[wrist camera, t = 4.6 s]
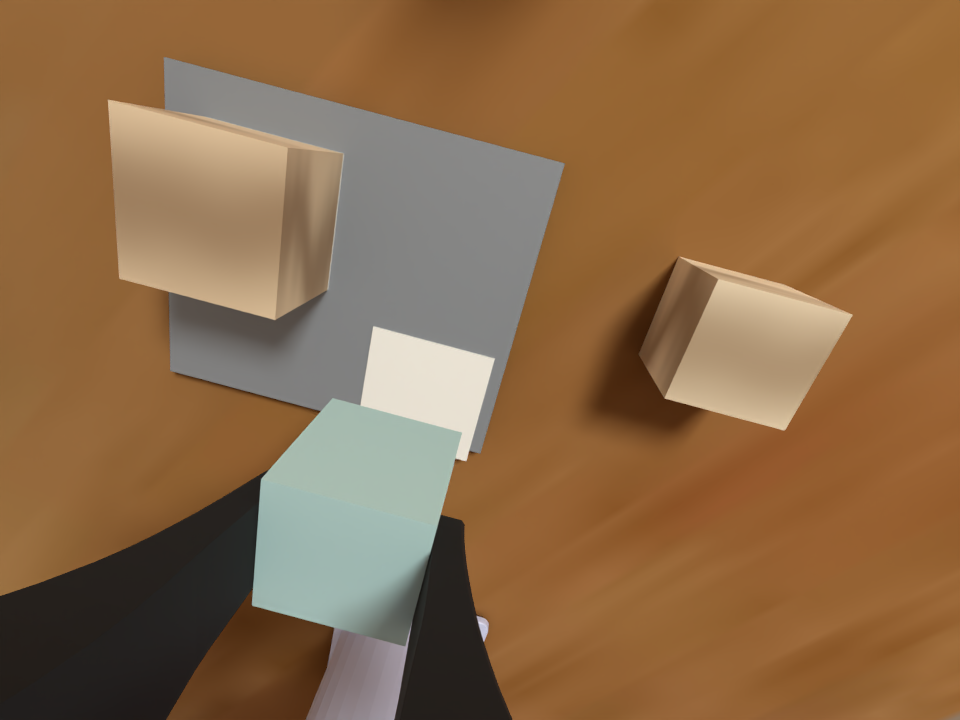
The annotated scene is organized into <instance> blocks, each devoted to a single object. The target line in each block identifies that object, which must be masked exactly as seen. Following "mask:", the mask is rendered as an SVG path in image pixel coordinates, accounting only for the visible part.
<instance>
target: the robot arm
mask: <svg viewBox="0 0 960 720" xmlns="http://www.w3.org/2000/svg"><path fill="white" fill-rule="evenodd" d="M269 470H270V469H269ZM269 470H267V471H266V472H264V473H262V474H260V475H259V476H257V477H255V478H254V479H252V480H251V481H249V482H247V483H246V484H244V485H242V486H241V487H239V488H237V489H236V490H234V491H232V492H231V493H229V494H227V495H226V496H224V497H222V498H221V499H219V500H217V501H216V502H214V503H212V504H210V505H209V506H207V507H205V508H203V509H202V510H200V511H198V512H197V513H195V514H193V515H191V516H189V517H188V518H186V519H184V520H182V521H180V522H178V523H176V524H174V525H172V526H171V527H169V528H167V529H165V530H163V531H161V532H159V533H157V534H155V535H153V536H151V537H149V538H147V539H145V540H143V541H141V542H139V543H137V544H135V545H133V546H130V547H128V548H126V549H124V550H122V551H119V552H117V553H115V554H112V555H110V556H108V557H106V558H103V559H101V560H98V561H96V562H94V563H91V564H88V565H86V566H83V567H80V568H78V569H75V570H73V571H70V572H67V573H65V574H62V575H60V576H57V577H54V578H52V579H49V580H46V581H44V582H41V583H38V584H35V585H32V586H29V587H26V588H23V589H20V590H17V591H14V592H11V593H8V594H5V595H2V596H0V720H166V719H167V717H168V715H169V713H170V712H171V710H172V708H173V707H174V705H175V703H176V702H177V700H178V698H179V697H180V695H181V693H182V691H183V690H184V688H185V686H186V685H187V683H188V681H189V680H190V678H191V676H192V675H193V673H194V671H195V670H196V668H197V667H198V665H199V663H200V662H201V660H202V659H203V657H204V656H205V654H206V653H207V651H208V650H209V648H210V647H211V646H212V644H213V643H214V641H215V640H216V639H217V637H218V636H219V634H220V633H221V632H222V630H223V629H224V628H225V626H226V625H227V623H228V622H229V621H230V619H231V618H232V616H233V615H234V614H235V612H236V611H237V609H238V608H239V607H240V605H241V604H242V602H243V601H244V600H245V598H246V597H247V595H248V594H249V593H250V591H251V590H252V588H253V582H254V569H255V555H256V541H257V528H258V514H259V500H260V486H261V479H262V477H263V476H264V475H265V474H266V473H267V472H268V471H269ZM464 526H465V525H464V523H463V522H462V520H458V519H454V518H451V517H447V516H443V515H440V519H439V522H438V526H437V530H436V534H435V537H434V541H433V545H432V549H431V552H430V556H429V560H428V564H427V567H426V571H425V575H424V579H423V582H422V586H421V590H420V593H419V597H418V601H417V605H416V608H415V612H414V616H413V620H412V623H411V627H410V631H409V635H408V638H407V642H406V646H401V645H398V644H394V643H390V642H386V641H383V640H379V639H375V638H371V637H368V636H364V635H360V634H356V633H353V632H349V631H345V630H341V629H338V628H334V632H333V638H332V643H331V649H330V655H329V661H328V666H327V669H326V671H325V674H324V676H323V679H322V681H321V684H320V686H319V688H318V691H317V693H316V696H315V698H314V701H313V703H312V705H311V708H310V710H309V713H308V715H307V718H306V720H512V717H511V715H510V713H509V710H508V708H507V705H506V703H505V701H504V698H503V696H502V694H501V691H500V689H499V686H498V683H497V680H496V678H495V675H494V672H493V669H492V666H491V663H490V660H489V657H488V654H487V651H486V648H485V645H484V641H485V638H486V635H487V633H488V626H489V623H488V621H487V620H486V619H485V618H482V617H479V616H477V615H476V611H475V607H474V602H473V598H472V593H471V587H470V582H469V577H468V570H467V563H466V555H465V543H464Z"/></svg>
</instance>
